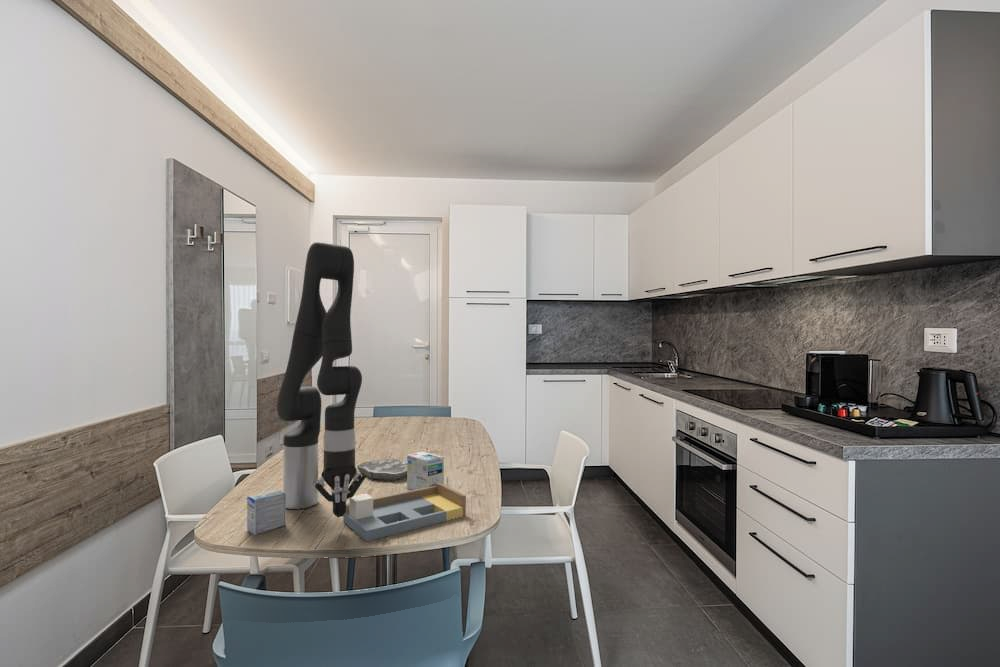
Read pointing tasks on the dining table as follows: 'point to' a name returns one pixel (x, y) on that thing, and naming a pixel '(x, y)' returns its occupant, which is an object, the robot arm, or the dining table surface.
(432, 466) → the light bulb box
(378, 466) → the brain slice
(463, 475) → the dining table surface
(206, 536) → the dining table surface
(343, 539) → the dining table surface
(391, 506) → the trap deck
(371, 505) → the ivory block
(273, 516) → the medicine box
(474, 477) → the dining table surface
